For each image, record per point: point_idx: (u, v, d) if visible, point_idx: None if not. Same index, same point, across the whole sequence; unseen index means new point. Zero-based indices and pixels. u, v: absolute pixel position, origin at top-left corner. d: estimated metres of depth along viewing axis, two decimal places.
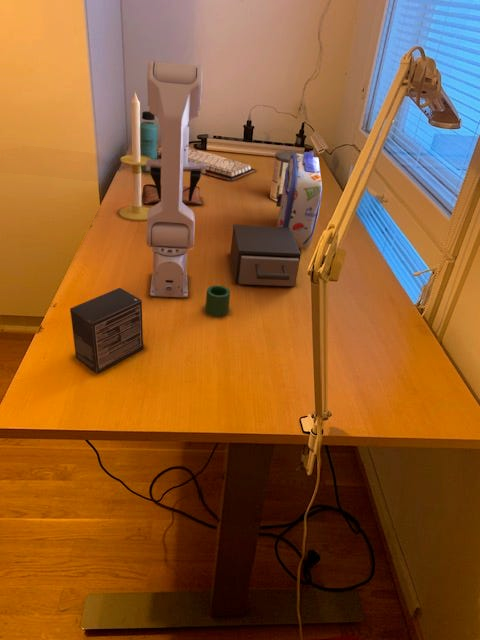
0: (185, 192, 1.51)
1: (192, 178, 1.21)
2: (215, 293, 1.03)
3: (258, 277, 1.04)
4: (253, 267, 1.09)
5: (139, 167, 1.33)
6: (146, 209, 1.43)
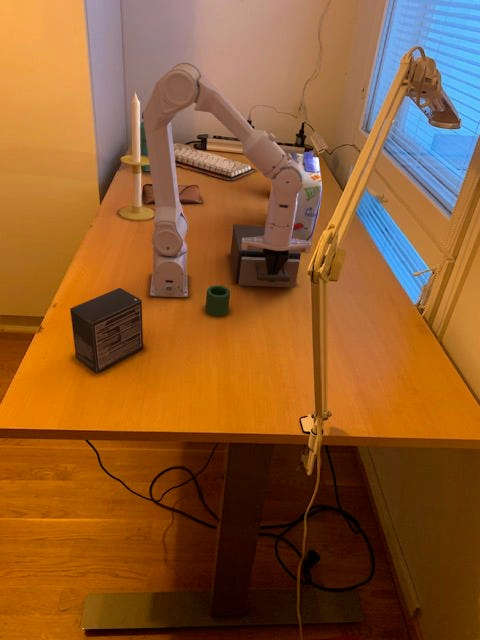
0: (185, 191, 1.52)
1: (280, 259, 1.02)
2: (215, 293, 1.03)
3: (258, 278, 1.04)
4: (253, 268, 1.09)
5: (139, 167, 1.33)
6: (146, 209, 1.43)
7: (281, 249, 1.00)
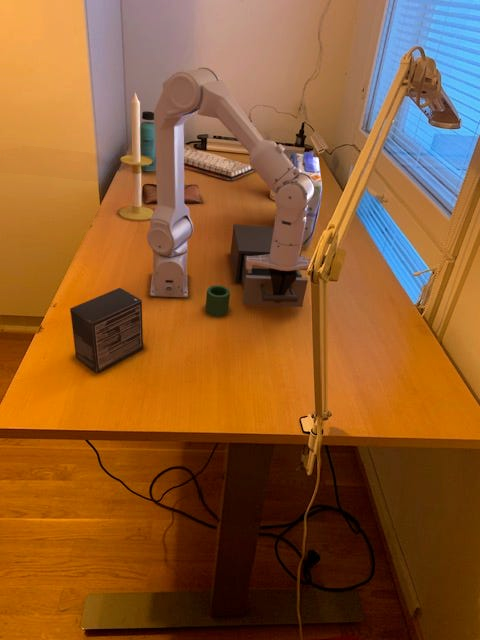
0: (185, 190, 1.52)
1: (286, 279, 0.95)
2: (215, 293, 1.03)
3: (264, 299, 0.97)
4: (258, 287, 1.02)
5: (139, 167, 1.33)
6: (146, 209, 1.43)
7: (288, 269, 0.94)
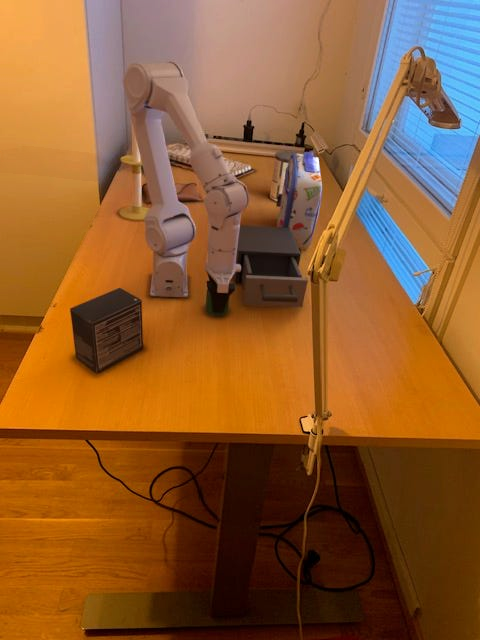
0: (185, 189, 1.53)
1: None
2: None
3: (264, 299, 0.97)
4: (258, 287, 1.02)
5: (139, 167, 1.33)
6: (146, 209, 1.43)
7: (205, 268, 0.96)
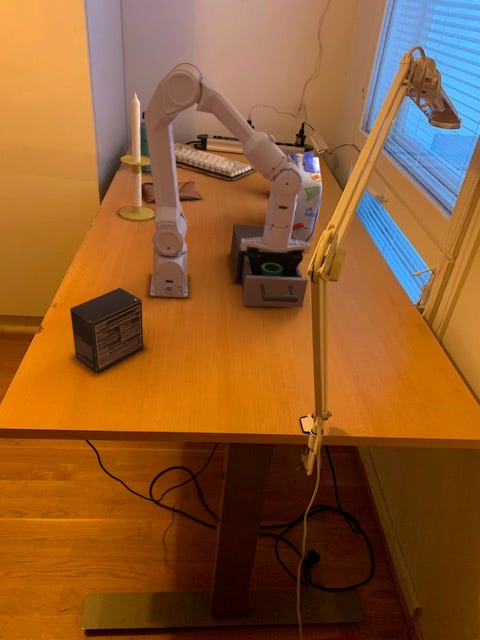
0: (184, 188, 1.54)
1: (293, 260, 1.03)
2: None
3: (264, 299, 0.97)
4: (258, 287, 1.02)
5: (139, 167, 1.33)
6: (146, 209, 1.43)
7: (280, 250, 1.01)
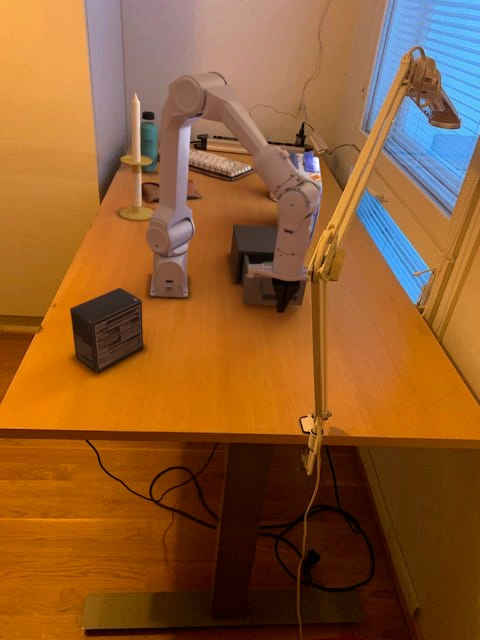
0: None
1: (289, 289, 0.92)
2: None
3: (263, 298, 0.98)
4: (258, 286, 1.02)
5: (139, 167, 1.33)
6: (146, 209, 1.43)
7: (291, 279, 0.90)
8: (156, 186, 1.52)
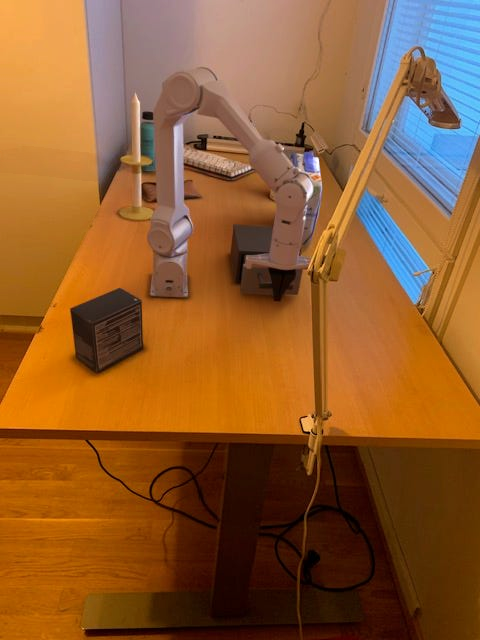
0: None
1: (286, 278, 0.96)
2: None
3: (261, 287, 1.01)
4: (255, 276, 1.06)
5: (139, 167, 1.33)
6: (146, 209, 1.43)
7: (288, 268, 0.94)
8: None
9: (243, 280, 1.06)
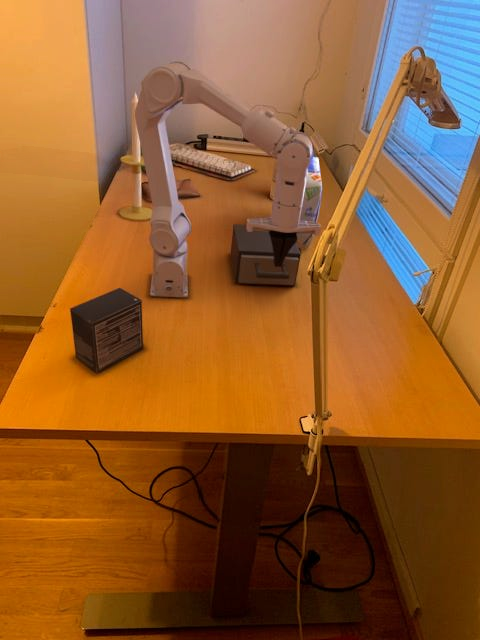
0: (182, 185, 1.56)
1: (287, 241, 0.96)
2: None
3: (258, 276, 1.05)
4: (253, 266, 1.10)
5: (139, 167, 1.33)
6: (146, 209, 1.43)
7: (289, 231, 0.94)
8: None
9: (241, 270, 1.10)
